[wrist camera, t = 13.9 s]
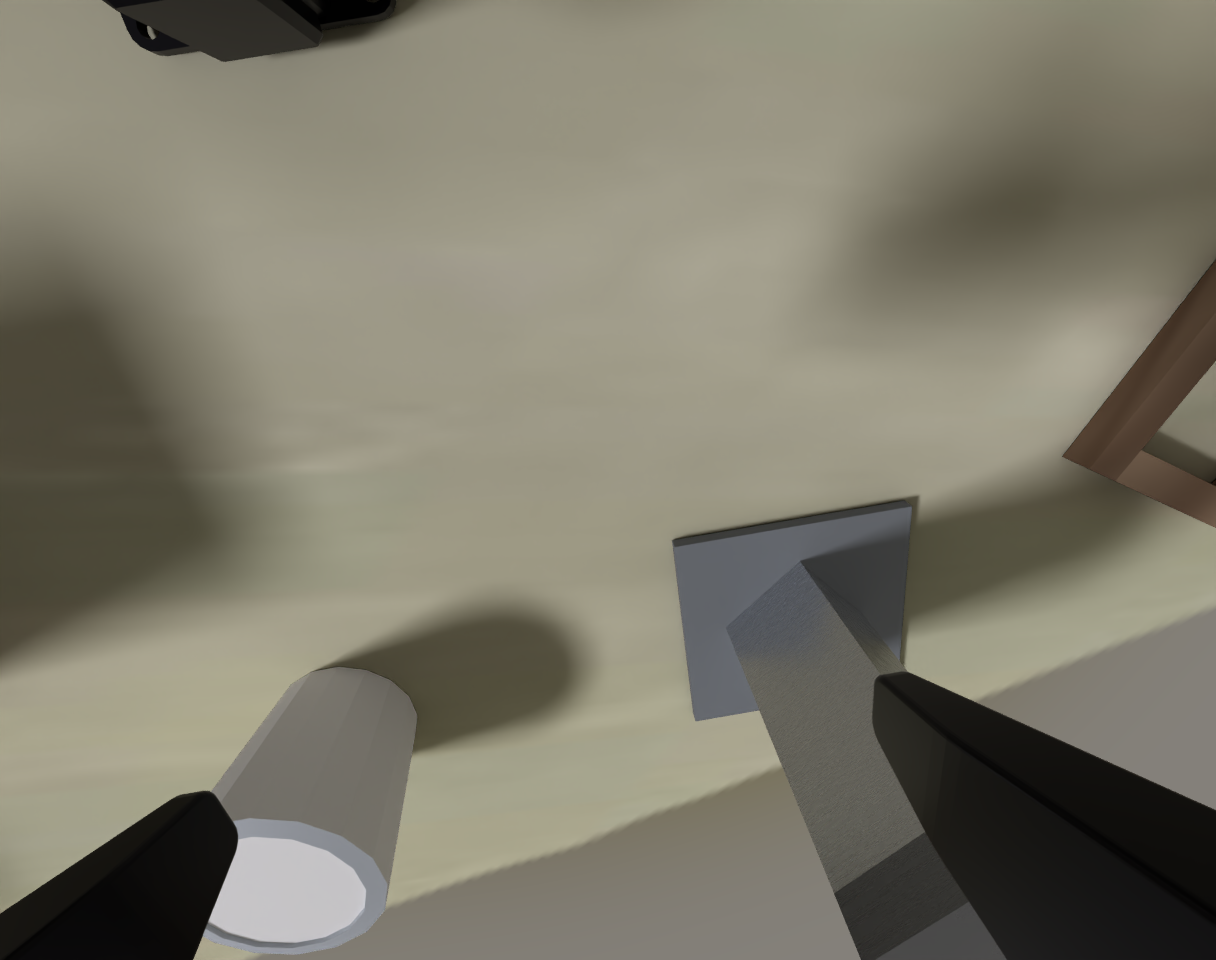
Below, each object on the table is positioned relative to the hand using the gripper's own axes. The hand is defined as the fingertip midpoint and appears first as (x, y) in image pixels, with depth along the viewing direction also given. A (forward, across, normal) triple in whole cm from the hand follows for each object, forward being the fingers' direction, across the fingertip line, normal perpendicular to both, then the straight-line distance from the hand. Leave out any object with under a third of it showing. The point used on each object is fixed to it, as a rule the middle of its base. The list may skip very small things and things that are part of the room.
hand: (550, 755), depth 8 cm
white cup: (+13, -11, -11) cm, 20 cm away
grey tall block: (+12, +8, -9) cm, 18 cm away
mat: (+13, +8, -10) cm, 18 cm away
